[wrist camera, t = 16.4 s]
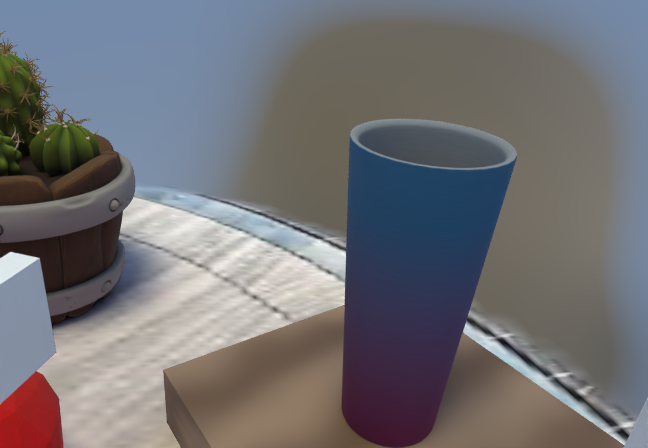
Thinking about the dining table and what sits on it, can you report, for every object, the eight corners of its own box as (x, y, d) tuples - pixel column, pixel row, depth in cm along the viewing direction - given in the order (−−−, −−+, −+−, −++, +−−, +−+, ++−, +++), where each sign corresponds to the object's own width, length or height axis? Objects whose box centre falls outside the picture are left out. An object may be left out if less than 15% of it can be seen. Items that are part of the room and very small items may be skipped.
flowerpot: (173, 311, 41) (157, 46, 33) (-64, 378, 33) (-167, 48, 25) (120, 235, 52) (98, 20, 43) (-69, 272, 44) (-143, 15, 35)
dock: (167, 421, 31) (163, 370, 30) (389, 329, 41) (396, 286, 40) (377, 795, 18) (393, 739, 16) (633, 523, 28) (660, 470, 26)
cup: (361, 481, 24) (406, 176, 18) (305, 382, 30) (323, 122, 23) (479, 439, 27) (555, 161, 20) (407, 355, 32) (449, 115, 26)
